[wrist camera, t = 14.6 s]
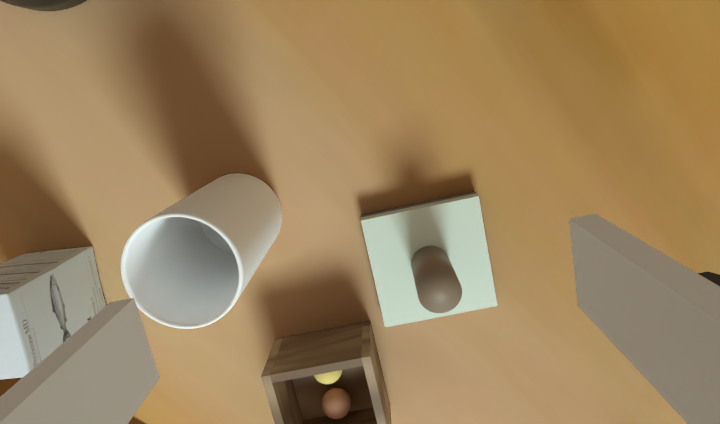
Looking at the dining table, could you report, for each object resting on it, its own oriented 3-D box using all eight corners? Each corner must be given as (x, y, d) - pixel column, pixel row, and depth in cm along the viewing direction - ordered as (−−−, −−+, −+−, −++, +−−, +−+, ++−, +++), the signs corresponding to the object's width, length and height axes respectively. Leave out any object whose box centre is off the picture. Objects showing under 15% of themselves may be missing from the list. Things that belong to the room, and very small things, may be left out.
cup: (299, 217, 50) (267, 276, 34) (241, 271, 51) (184, 351, 36) (238, 155, 49) (176, 187, 33) (180, 212, 50) (94, 269, 34)
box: (275, 339, 53) (261, 376, 46) (370, 321, 52) (370, 356, 45) (298, 422, 55) (288, 470, 48) (390, 406, 55) (392, 451, 48)
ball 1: (310, 350, 52) (307, 365, 49) (339, 344, 52) (337, 359, 49) (317, 376, 53) (314, 392, 50) (346, 370, 53) (344, 387, 50)
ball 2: (320, 384, 53) (317, 401, 50) (348, 379, 53) (347, 396, 50) (326, 409, 54) (324, 428, 51) (354, 404, 54) (353, 422, 51)
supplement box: (111, 312, 53) (32, 380, 40) (41, 318, 53) (-59, 388, 41) (95, 243, 51) (7, 293, 39) (22, 250, 51) (-87, 301, 39)
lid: (361, 217, 49) (358, 242, 41) (476, 193, 48) (496, 214, 40) (384, 321, 51) (387, 365, 43) (494, 300, 51) (517, 340, 43)
